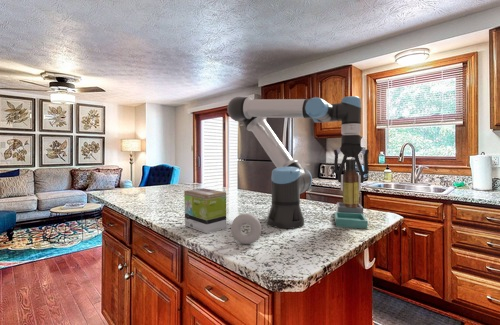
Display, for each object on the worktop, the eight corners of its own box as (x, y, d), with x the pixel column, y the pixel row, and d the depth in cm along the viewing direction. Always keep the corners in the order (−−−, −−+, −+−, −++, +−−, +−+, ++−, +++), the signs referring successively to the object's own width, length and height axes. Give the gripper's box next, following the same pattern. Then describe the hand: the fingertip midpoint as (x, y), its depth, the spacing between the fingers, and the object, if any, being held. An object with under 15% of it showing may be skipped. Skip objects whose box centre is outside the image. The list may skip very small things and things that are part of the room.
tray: (336, 226, 105) (336, 219, 105) (334, 218, 117) (334, 212, 117) (367, 228, 102) (367, 221, 102) (362, 220, 114) (362, 213, 114)
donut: (230, 245, 84) (230, 214, 84) (231, 241, 87) (231, 212, 87) (261, 246, 83) (261, 215, 83) (261, 242, 87) (261, 212, 86)
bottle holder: (337, 217, 119) (337, 206, 119) (336, 212, 129) (336, 202, 129) (363, 219, 116) (363, 208, 116) (359, 213, 127) (359, 203, 126)
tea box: (183, 226, 106) (183, 190, 105) (203, 221, 113) (203, 187, 113) (206, 234, 96) (206, 194, 95) (227, 228, 103) (227, 191, 102)
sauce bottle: (356, 205, 112) (357, 159, 111) (360, 208, 106) (362, 159, 105) (340, 205, 113) (341, 158, 112) (344, 208, 107) (345, 159, 106)
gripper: (327, 134, 107) (326, 191, 108) (378, 133, 102) (377, 192, 103) (326, 135, 115) (326, 188, 115) (374, 135, 109) (373, 190, 110)
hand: (350, 190), depth 109 cm, fingers closed on sauce bottle, 6 cm apart
